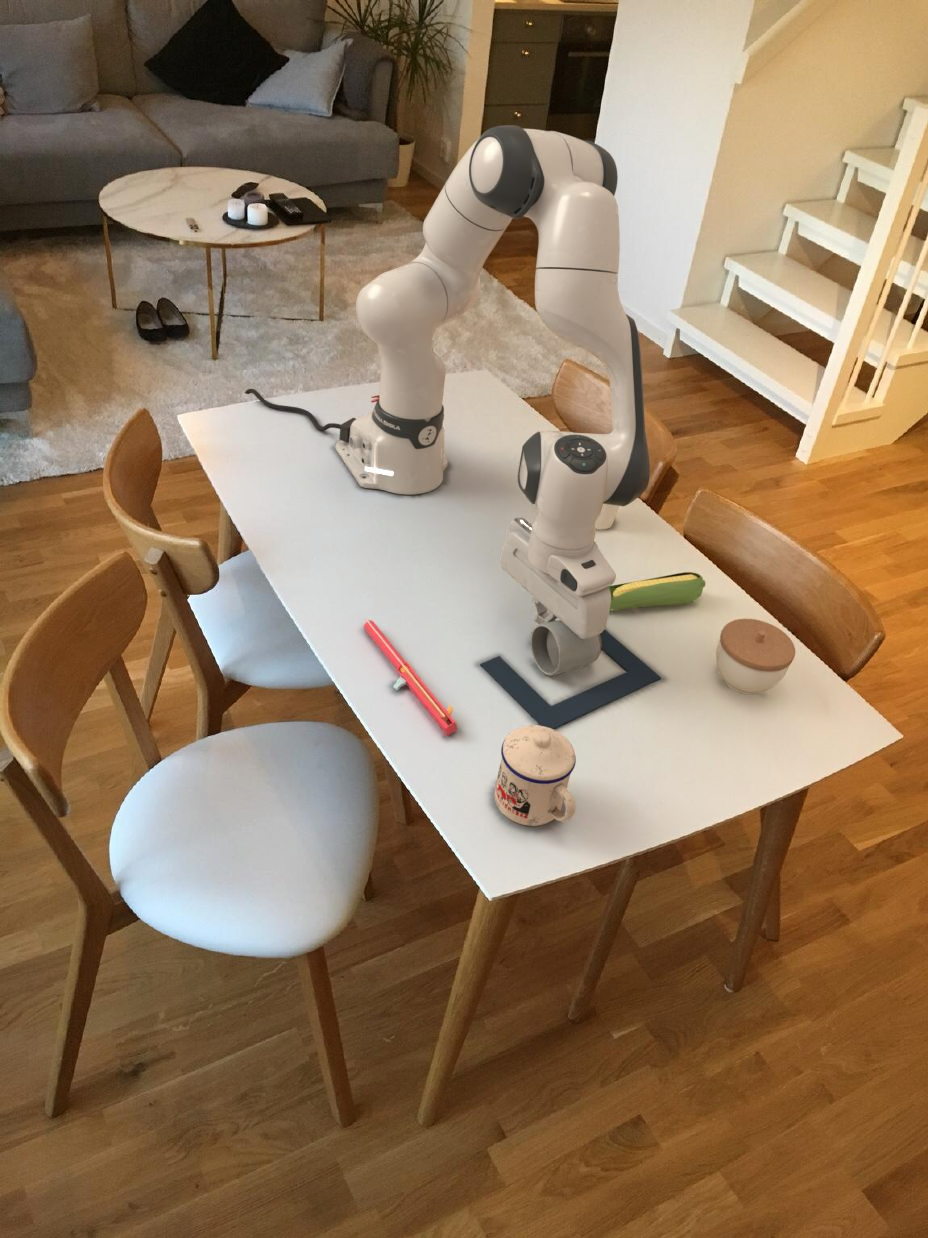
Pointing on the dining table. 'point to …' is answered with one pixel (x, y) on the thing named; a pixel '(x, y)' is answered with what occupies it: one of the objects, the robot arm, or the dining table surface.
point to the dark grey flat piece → (584, 701)
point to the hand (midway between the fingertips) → (543, 624)
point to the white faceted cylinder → (606, 516)
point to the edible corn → (657, 591)
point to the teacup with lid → (535, 776)
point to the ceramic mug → (562, 648)
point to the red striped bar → (412, 680)
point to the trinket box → (753, 655)
